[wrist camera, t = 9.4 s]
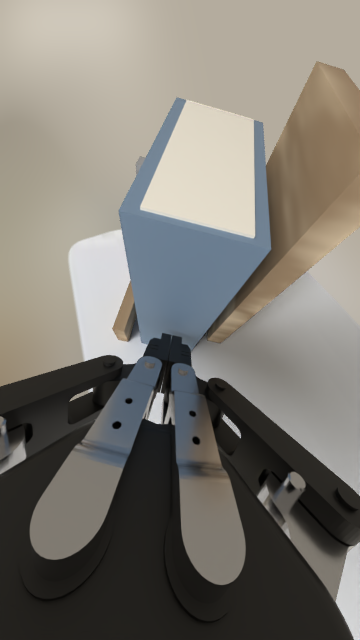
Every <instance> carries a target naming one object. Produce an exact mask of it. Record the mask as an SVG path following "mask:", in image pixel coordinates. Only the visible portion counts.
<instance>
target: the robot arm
mask: <svg viewBox="0 0 360 640" xmlns="http://www.w3.org/2000/svg"><path fill="white" fill-rule="evenodd" d="M171 337H172V339H171ZM163 377H164V378H163ZM162 381H163V383H162ZM161 385H162V389H161ZM91 388H93V392H90V393H88V394H86V395H84V396H81V397H79V398H77V399H75V400H72V401H70V399H71V398H72V397H73V396H75V395H77V394H79V393H81V392H83V391H86V390H88V389H91ZM160 389H161V393H164V399H163V402H162V413H161V424H155V423H153V422H151V421H148V418H149V415H150V411H151V408H152V405H153V402H154V399H155V397H156V394H157V392H159V393H160ZM69 401H70V402H69ZM224 414H225V415H226V416H227V417H228V418H229V419H230V420H231V421H232V422H233V423H234V424H235V425H236V426H237V427H238V429H239V430H240V433H241V439H240V438H239V436H238V435H237V434H236V433H235V432H234V431H233V430H232V429H231V428H230V427H229V426H228V425H227V424H226V423H225V422H224V420H223V419H222V417H223V415H224ZM359 542H360V496H359V495H358V494H357V493H356V492H355V491H354V490H353V489H352V488H351V487H350V486H348V485H347V484H346V483H345V482H344V481H343V480H341V479H340V478H339V477H338V476H337V475H335V474H334V473H333V472H332V471H331V470H330V469H328V468H327V467H326V466H325V465H324V464H323V463H321V462H320V461H319V460H318V459H317V458H315V457H314V456H313V455H312V454H311V453H310V452H308V451H307V450H306V449H305V448H304V447H302V446H301V445H300V444H299V443H298V442H297V441H295V440H294V439H293V438H292V437H291V436H290V435H288V434H287V433H286V432H285V431H284V430H282V429H281V428H280V427H279V426H278V425H277V424H275V423H274V422H273V421H272V420H271V419H270V418H268V417H267V416H266V415H265V414H264V413H262V412H261V411H260V410H259V409H258V408H257V407H255V406H254V405H253V404H252V403H251V402H250V401H248V400H247V399H246V398H245V397H244V396H242V395H241V394H240V393H239V392H238V391H237V390H235V389H234V388H233V387H232V386H231V385H229V384H228V383H227V382H226V381H224V380H222V379H219V378H211V379H209V381H208V382H205V381H203V380H201V379H199V378H198V377H196V375H195V371H194V369H193V368H192V366H191V349H190V348H189V346H188V345H186V344H182V337H179V336H175V335H170V334H166V333H162V336H161V339H159V338H152V339H151V340H150V341H149V343H148V346H147V348H146V350H145V353H144V355H143V357H141V358H140V359H139V360H138V361H137V363H135V364H123V361H122V360H121V359H120V358H119V357H117V356H113V355H106V356H101V357H98V358H95V359H91V360H88V361H85V362H81V363H78V364H75V365H71V366H68V367H64V368H61V369H58V370H55V371H51V372H48V373H45V374H41V375H38V376H34V377H31V378H28V379H25V380H21V381H18V382H14V383H11V384H8V385H4V386H1V387H0V640H354V639H353V636H352V634H351V632H350V629H349V627H348V625H347V623H346V621H345V619H344V617H343V615H342V613H341V611H340V610H339V608H338V606H337V604H336V602H335V601H336V597H337V593H338V589H339V584H340V580H341V576H342V572H343V567H344V563H345V559H346V555H347V552H349V551H350V550H351V549H352V548H353V547H354V546H355V545H356V544H358V543H359Z"/></svg>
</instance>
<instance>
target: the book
mask: <svg viewBox="0 0 360 640" xmlns="http://www.w3.org/2000/svg"><path fill="white" fill-rule="evenodd" d="M119 216H120V222H121V228H122V234H123V239H124V245H125V251H126V256H127V262H128V268H129V274H130V279H131V285H132V291H133V296H134V302H135V308H136V314H137V319H138V325H139V331H140V336H141V342H142V343H145V344H148V343H149V341H150V340H151V339H152V338H159V339H161V336H162V333H166V334H170V335H175V336H179V337H182V344H186V345H188V346H189V348H190V349H191V350H192V349H193V348H194V346H195V345H196V344H197V343H198V341H199V340H200V339H201V338H202V336H203V335H204V334H205V333H206V331H207V330H208V329H209V328H210V326H211V325H212V324H213V322H214V321H215V320H216V319H217V317H218V316H219V315H220V314H221V312H222V311H223V310H224V309H225V307H226V306H227V305H228V303H229V302H230V301H231V300H232V298H233V297H234V296H235V295H236V293H237V292H238V291H239V290H240V288H241V287H242V286H243V285H244V283H245V282H246V281H247V279H248V278H249V277H250V276H251V274H252V273H253V272H254V271H255V269H256V268H257V267H258V266H259V264H260V263H261V262H262V260H263V259H264V258H265V257H266V255H267V254H268V253H269V252H270V250H271V239H270V223H269V208H268V193H267V177H266V162H265V147H264V131H263V123H262V122H259V121H255V120H254V119H250V118H247V117H244V116H241V115H237V114H234V113H230V112H227V111H224V110H220V109H217V108H214V107H210V106H207V105H203V104H200V103H196V102H193V101H190V100H184V99H181V98H176V100H175V102H174V104H173V106H172V108H171V110H170V112H169V113H168V115H167V117H166V119H165V121H164V123H163V125H162V127H161V129H160V131H159V133H158V135H157V137H156V139H155V141H154V143H153V145H152V147H151V149H150V150H149V152H148V154H147V156H146V158H145V160H144V162H143V164H142V166H141V168H140V170H139V172H138V174H137V176H136V178H135V180H134V182H133V184H132V186H131V188H130V190H129V192H128V193H127V195H126V197H125V199H124V201H123V203H122V205H121V207H120V209H119ZM171 339H172V337H171Z"/></svg>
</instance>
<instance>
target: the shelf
mask: <svg viewBox="0 0 360 640" xmlns="http://www.w3.org/2000/svg"><path fill="white" fill-rule="evenodd" d="M144 160H145V158H144V157H139V159H138V161H137V163H136V174H138V172H139V170H140V168H141V166H142V164H143V162H144ZM266 177H267V193H268V208H269V223H270V239H271V250H270V252H269V253H268V254H267V255H266V257H265V258H264V259H263V260H262V262H261V263H260V264H259V266H258V267H257V268H256V269H255V271H254V272H253V273H252V274H251V276H250V277H249V278H248V279H247V281H246V282H245V283H244V285H243V286H242V287H241V288H240V290H239V291H238V292H237V293H236V295H235V296H234V297H233V298H232V300H231V301H230V302H229V303H228V305H227V306H226V307H225V309H224V310H223V311H222V312H221V314H220V315H219V316H218V317H217V319H216V320H215V321H214V322H213V324H212V325H211V326H210V328H209V329H208V337H207V340H208V341H213V342H217V343H221V342H223V341H224V340H225V339H226V338H227V337H229V336H230V335H231V334H232V333H233V332H235V331H236V330H237V329H238V328H239V327H241V326H242V325H243V324H244V323H245V322H246V321H248V320H249V319H250V318H251V317H252V316H254V315H255V314H256V313H257V312H258V311H260V310H261V309H262V308H263V307H264V306H266V305H267V304H268V303H269V302H270V301H272V300H273V299H274V298H275V297H276V296H278V295H279V294H280V293H281V292H282V291H284V290H285V289H286V288H287V287H288V286H290V285H291V284H292V283H293V282H294V281H296V280H297V279H298V278H299V277H300V276H301V275H303V274H304V273H305V272H306V271H307V270H309V269H310V268H311V267H312V266H313V265H314V264H316V263H317V262H318V261H319V260H321V259H322V258H323V257H324V256H325V255H326V254H328V253H329V252H330V251H331V250H333V249H334V248H335V247H336V246H337V245H339V244H340V243H341V242H342V241H343V240H345V239H346V238H347V237H348V236H349V235H351V234H352V233H353V232H354V231H355V230H356V229H358V228H359V227H360V90H359V89H358V88H357V86H356V85H355V84H354V82H353V81H352V80H351V78H350V77H349V76H348V75H347V73H346V72H345V71H344V70H343V69H340V68H336V67H333V66H330V65H327V64H324V63H321V62H316V64H315V66H314V68H313V70H312V72H311V74H310V76H309V78H308V80H307V83H306V84H305V87H304V89H303V91H302V93H301V95H300V97H299V99H298V101H297V103H296V105H295V107H294V109H293V111H292V113H291V115H290V117H289V119H288V122H287V123H286V126H285V128H284V130H283V132H282V134H281V136H280V138H279V140H278V142H277V144H276V146H275V148H274V150H273V152H272V154H271V156H270V159H269V161H268V163H267V165H266ZM136 316H137V314H136V308H135V302H134V296H133V291H132V285H131V280H130V283H129V286H128V288H127V291H126V294H125V296H124V299H123V302H122V304H121V307H120V310H119V312H118V315H117V318H116V320H115V323H114V326H113V328H112V329H113V331H114V333H115V334H116V336H117V338H118V340H122V341H127V342H128V341H129V338H130V335H131V332H132V328H133V325H134V322H135V319H136Z"/></svg>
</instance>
